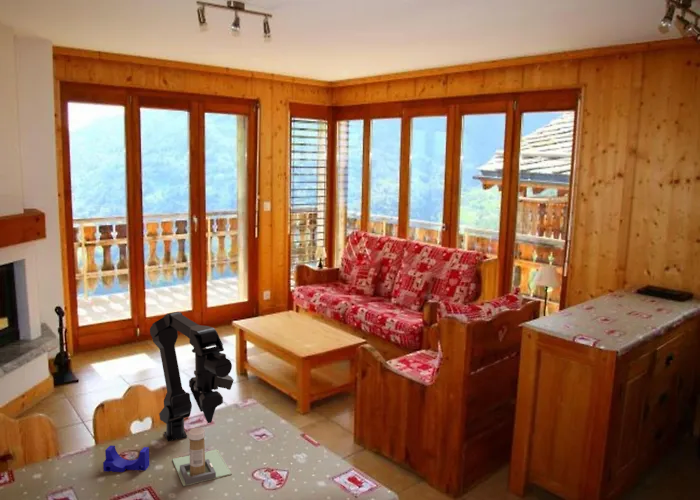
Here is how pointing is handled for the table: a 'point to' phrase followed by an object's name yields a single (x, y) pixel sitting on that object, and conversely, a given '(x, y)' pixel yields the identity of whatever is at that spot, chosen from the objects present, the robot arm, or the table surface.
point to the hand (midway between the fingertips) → (205, 416)
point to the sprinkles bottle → (197, 451)
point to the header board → (213, 468)
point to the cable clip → (125, 461)
